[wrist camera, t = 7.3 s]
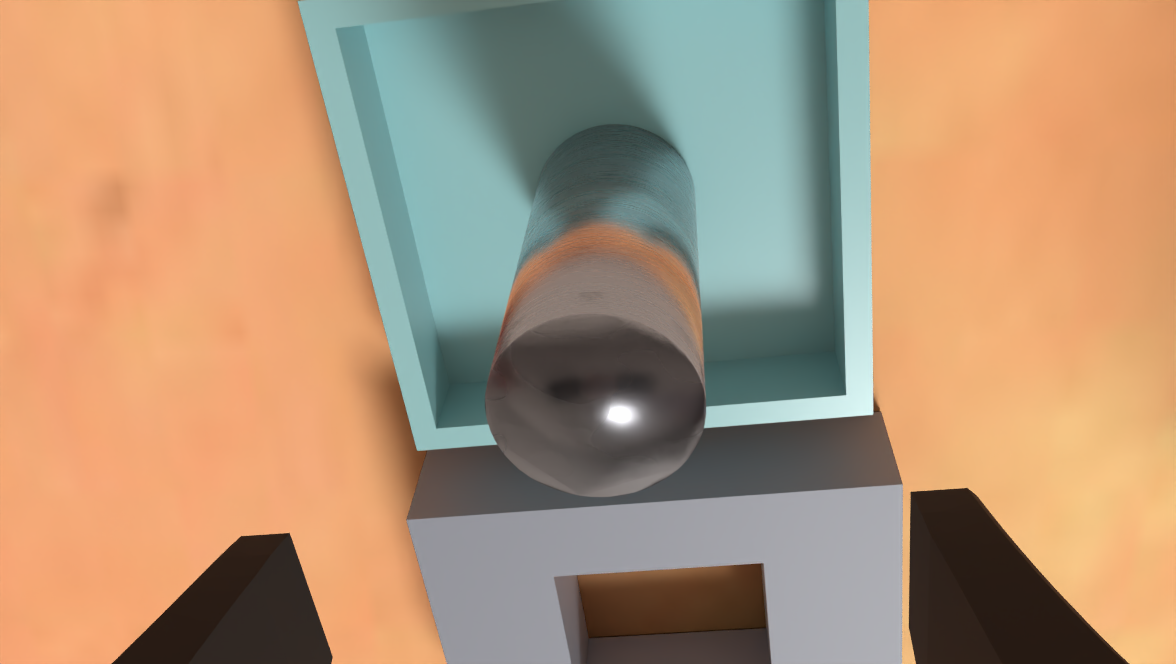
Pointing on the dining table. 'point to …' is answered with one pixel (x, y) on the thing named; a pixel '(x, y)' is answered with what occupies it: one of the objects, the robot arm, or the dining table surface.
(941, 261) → the dining table surface
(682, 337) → the pin
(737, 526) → the socket block
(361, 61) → the tray
